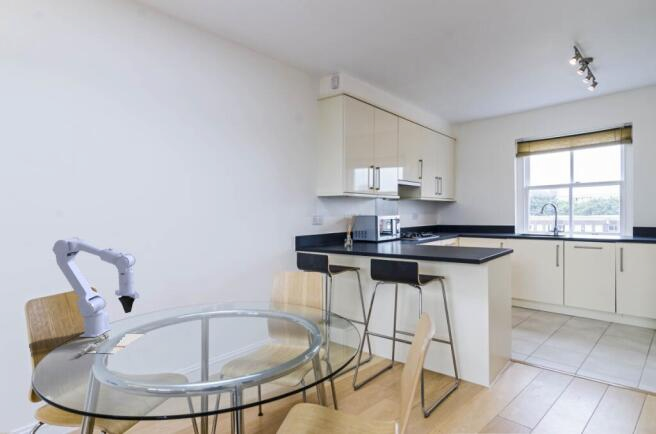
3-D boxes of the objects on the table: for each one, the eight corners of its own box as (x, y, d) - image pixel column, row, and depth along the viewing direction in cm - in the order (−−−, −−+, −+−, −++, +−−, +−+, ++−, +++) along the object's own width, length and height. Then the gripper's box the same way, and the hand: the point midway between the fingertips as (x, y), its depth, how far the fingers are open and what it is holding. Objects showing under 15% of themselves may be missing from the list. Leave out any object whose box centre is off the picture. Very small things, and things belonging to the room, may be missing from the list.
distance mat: (120, 332, 155) (120, 332, 155) (145, 333, 154) (145, 333, 154) (84, 352, 135) (84, 352, 135) (113, 354, 134) (113, 353, 134)
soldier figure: (73, 357, 134) (94, 335, 145) (84, 364, 135) (104, 342, 146) (82, 346, 131) (103, 325, 142) (94, 353, 132) (113, 331, 143)
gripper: (107, 282, 153) (109, 312, 154) (127, 286, 147) (129, 317, 147) (123, 278, 160) (124, 307, 160) (143, 282, 153) (144, 312, 154)
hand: (127, 312), depth 154 cm, fingers closed
